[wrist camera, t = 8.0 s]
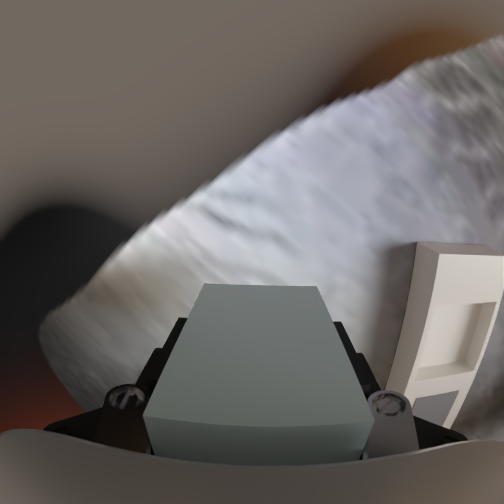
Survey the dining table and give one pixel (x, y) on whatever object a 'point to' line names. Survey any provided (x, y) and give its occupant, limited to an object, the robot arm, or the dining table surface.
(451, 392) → the power strip
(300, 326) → the block
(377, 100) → the dining table surface
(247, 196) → the dining table surface
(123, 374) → the dining table surface
